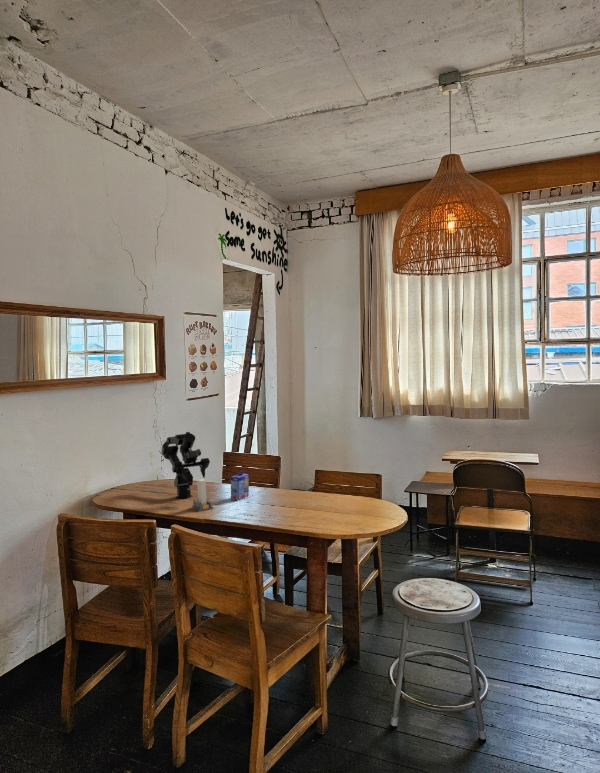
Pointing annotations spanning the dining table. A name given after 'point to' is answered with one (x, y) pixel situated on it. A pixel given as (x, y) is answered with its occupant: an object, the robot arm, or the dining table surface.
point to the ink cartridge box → (239, 486)
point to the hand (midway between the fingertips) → (195, 478)
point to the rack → (202, 506)
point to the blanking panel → (201, 491)
